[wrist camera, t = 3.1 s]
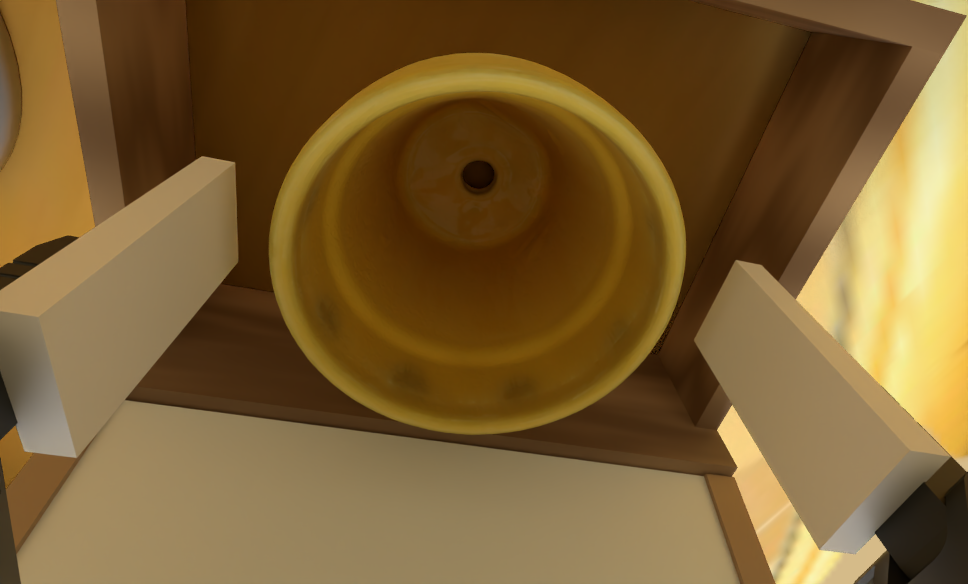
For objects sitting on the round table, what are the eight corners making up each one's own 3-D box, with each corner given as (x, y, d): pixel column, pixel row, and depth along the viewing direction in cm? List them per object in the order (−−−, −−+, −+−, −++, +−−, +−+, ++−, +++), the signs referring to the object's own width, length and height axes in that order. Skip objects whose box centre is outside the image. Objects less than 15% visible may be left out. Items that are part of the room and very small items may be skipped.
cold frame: (668, 372, 27) (726, 484, 21) (181, 296, 24) (86, 401, 18) (851, 8, 19) (1035, 19, 13) (138, -184, 16) (-71, -289, 10)
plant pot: (556, -23, 18) (634, -29, 10) (629, 231, 23) (722, 376, 15) (296, 97, 20) (168, 182, 11) (416, 309, 25) (389, 478, 16)
